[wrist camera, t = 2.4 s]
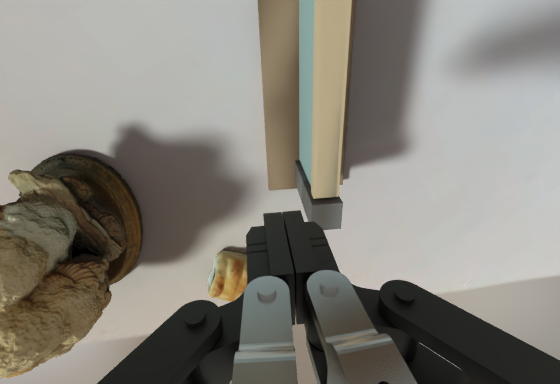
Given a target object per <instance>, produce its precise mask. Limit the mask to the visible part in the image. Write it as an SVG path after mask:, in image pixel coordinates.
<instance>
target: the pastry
mask: <svg viewBox="0 0 560 384" xmlns="http://www.w3.org/2000/svg"><path fill="white" fill-rule="evenodd" d="M246 286H247V255H245V254H242V253H239V252H233V251H221V252H219V253H218V254H217V256H216V257H215V259H214V264H213V271H212V272H211V273H210V274H209V276H208V280H207V287H208V293H209V295H210V296H211V297H212V298H215V297H217V298H220V299H223V300H227V301H234V300H236V299H237V298H239V297H240V296H241V295H242V294H243V292H244V291H245V288H246Z"/></svg>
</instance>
